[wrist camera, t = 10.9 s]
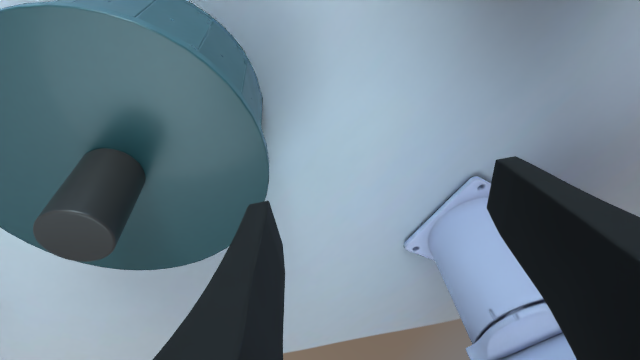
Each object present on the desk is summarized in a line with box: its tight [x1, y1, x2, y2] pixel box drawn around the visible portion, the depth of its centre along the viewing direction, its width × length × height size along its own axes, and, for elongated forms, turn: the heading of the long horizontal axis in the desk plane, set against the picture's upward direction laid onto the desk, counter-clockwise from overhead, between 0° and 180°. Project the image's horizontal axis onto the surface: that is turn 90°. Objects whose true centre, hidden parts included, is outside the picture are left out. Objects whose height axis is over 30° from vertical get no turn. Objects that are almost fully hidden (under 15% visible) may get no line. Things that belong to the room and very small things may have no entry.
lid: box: [0, 2, 269, 270], centre depth 13 cm, size 12×12×5 cm
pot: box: [54, 0, 263, 126], centre depth 17 cm, size 11×11×6 cm
